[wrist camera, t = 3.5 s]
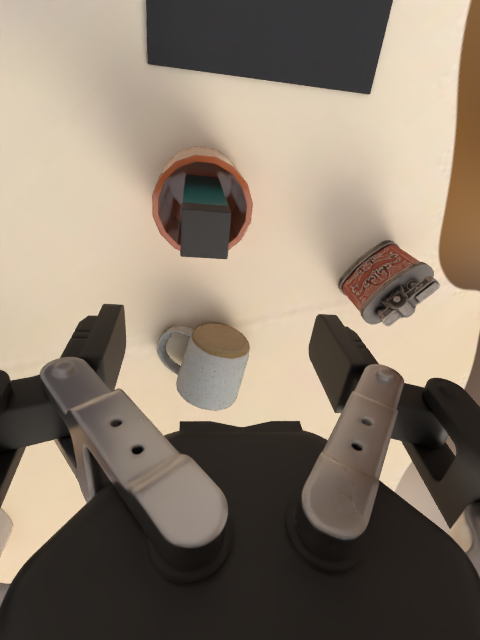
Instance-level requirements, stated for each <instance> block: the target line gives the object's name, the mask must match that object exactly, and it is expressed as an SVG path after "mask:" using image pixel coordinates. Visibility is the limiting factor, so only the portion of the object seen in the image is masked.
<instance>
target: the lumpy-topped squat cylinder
mask: <svg viewBox="0 0 480 640" xmlns="http://www.w3.org/2000/svg"><path fill="white" fill-rule="evenodd" d="M12 526H13V524H12V521H11V520H10V518H9V517H8V515H7V514H6V513H5V512H4V511H3V510H2V509H1V508H0V556H1V554H2V552H3V550H4V547H5V545H6V543H7V540H8V538H9V536H10V533H11V531H12Z"/></svg>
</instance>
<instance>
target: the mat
mask: <svg viewBox="0 0 480 640" xmlns="http://www.w3.org/2000/svg"><path fill="white" fill-rule="evenodd" d="M392 2H393V0H146V6H147V54H148V64H153V65H160V66H167V67H174V68H182V69H189V70H196V71H203V72H211V73H218V74H225V75H233V76H240V77H247V78H254V79H262V80H269V81H276V82H283V83H291V84H298V85H305V86H313V87H320V88H327V89H334V90H342V91H349V92H356V93H363V94H370V92H371V88H372V84H373V80H374V76H375V72H376V67H377V63H378V59H379V55H380V51H381V47H382V43H383V39H384V35H385V31H386V26H387V22H388V18H389V14H390V10H391V6H392Z"/></svg>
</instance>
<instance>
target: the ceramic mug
mask: <svg viewBox="0 0 480 640" xmlns="http://www.w3.org/2000/svg"><path fill="white" fill-rule="evenodd" d="M171 333H181V334H184V335H187V336H189V338H190V339H189V341H188V344H187V348H186V352H185V356H184V358H183V362H182V365H181V366H180V365H178V364H177V363H175V362H174V361H173V360H172V359H171V358H170V357H169V355H168V354H167V352H166V347H165V346H166V343H167V340H168V338H170V336H171ZM157 352H158V355H159V357H160V359H161V361H162V362H163V363H164V365H165V366H166V367H167V368H169V369H170V370H171V371H173V372H174V373H176V374H177V375H178V378H177V382H176V385H177V390H178V392H179V394H180V395H181V396H182V397H183V399H185V400H186V401H187V402H188V403H190V404H192V405H194V406H196V407H198V408H201V409H206V410H222V409H226V408H228V407H230V406H231V405H232V404H233V403H234V402H235V400H236V398H237V395H238V391H239V388H240V384H241V381H242V378H243V374H244V370H245V367H246V364H247V361H248V357H249V343H248V341H247V339H246V337H245V336H244V335H243V334H242V333H240V332H239V331H237V330H236V329H234V328H232V327H229V326H226V325H223V324H215V323H209V324H204V325H201V326H199V327H197V328H196V329H195V330H192V329H190V328H188V327H183V326H174V327H171V328H169V329H168V330H167V331H166V332H164V333H163V334H162V336H161V337H160V339H159V341H158V345H157Z"/></svg>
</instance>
